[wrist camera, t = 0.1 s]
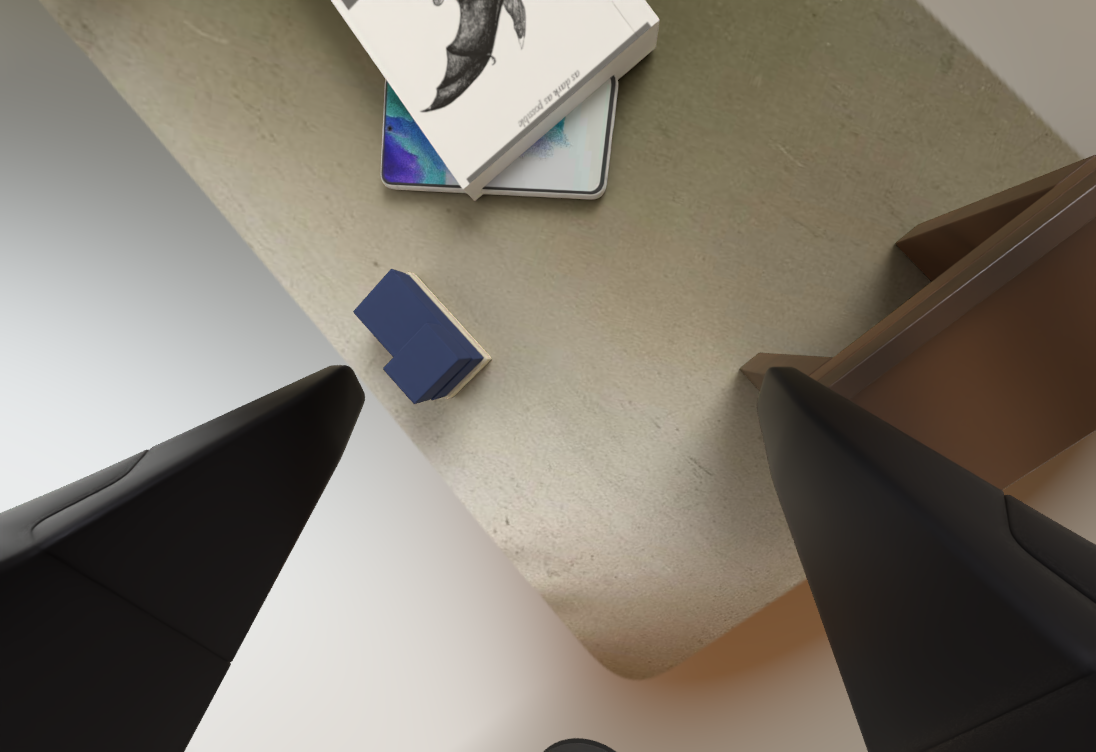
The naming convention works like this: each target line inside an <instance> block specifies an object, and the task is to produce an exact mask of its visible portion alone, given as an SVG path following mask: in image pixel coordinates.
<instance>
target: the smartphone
mask: <svg viewBox="0 0 1096 752" xmlns="http://www.w3.org/2000/svg"><path fill="white" fill-rule="evenodd" d="M617 94H618V79H617V77H616V75H615V74H614V75H613V76H612V77H610V78H609V79H608V80H607V81H606V82H605V83H604V84H602V85H601V86H600V87H599V88H598V89H597V90H595V91H594V92H593V93H592V94H591V95H590V96H589V97H587V98H586V99H585V100H584V101H583V102H582V103H580V104H579V105H578V106H577V107H576V108H575V109H573V110H572V111H571V112H570V113H569V114H568V115H567V116H565V117H564V118H563V119H562V120H561V121H560V122H558V123H557V124H556V125H555V126H554V127H553V128H552V129H550V130H549V131H548V132H547V133H546V134H545V135H543V136H542V137H541V138H540V139H539V140H538V141H536V142H535V143H534V144H533V145H532V146H531V147H530V148H528V149H527V150H526V151H525V152H524V153H523V154H521V155H520V156H519V157H518V158H517V159H516V160H515V161H513V162H512V163H511V164H510V165H509V166H508V167H506V168H505V169H504V170H503V171H502V172H501V173H499V174H498V175H497V176H496V177H495V178H494V179H493V180H491V181H490V182H489V183H488V184H487V185H486V186H484V187H483V188H482V189H481V191H480V192H481V194H492V195H512V196H532V197H552V198H571V199H597V198H600V197H601V196H602V195H603V194H604V192H605V190H606V186H607V179H608V170H609V162H610V153H611V143H612V134H613V128H614V120H615V111H616V103H617ZM381 179H382V182H383V183H384V185H386V186H387V187H388V188H390V189H394V190H413V191H433V192H453V193H466V192H465V191H464V190H463V189H462V187H461V186H460V185H459V183H458V182H457V180H456V179H455V177H454V176H453V175H452V173H451V172H450V170H449V169H448V167H447V166H446V164H445V163H444V162H443V160H442V159H441V157H440V156H439V154H438V153H437V152H436V150H435V149H434V147H433V146H432V144H431V143H430V142H429V140H428V139H427V137H426V136H425V134H424V133H423V131H422V130H421V129H420V127H419V126H418V124H417V123H416V121H415V120H414V119H413V117H412V116H411V114H410V113H409V111H408V110H407V109H406V107H405V106H404V104H403V103H402V101H401V100H400V99H399V97H398V96H397V94H396V93H395V91H394V90H393V88H392V87H391V86H390V84H389V83H388V81H387V80H385V93H384V114H383V134H382V155H381Z"/></svg>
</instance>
